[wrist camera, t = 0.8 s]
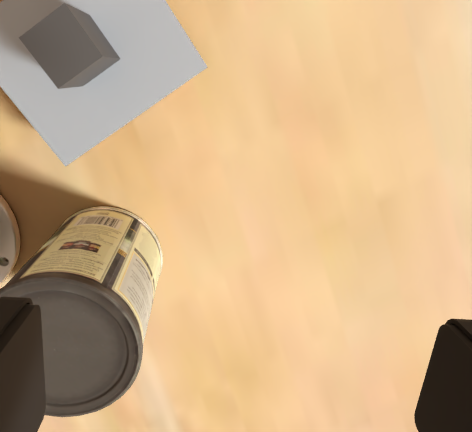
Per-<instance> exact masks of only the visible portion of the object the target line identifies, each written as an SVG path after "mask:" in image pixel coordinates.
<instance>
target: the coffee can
mask: <svg viewBox="0 0 472 432" xmlns="http://www.w3.org/2000/svg"><path fill="white" fill-rule="evenodd" d="M162 264H163V255H162V249H161V246H160V243H159V240H158V238H157V236H156V235H155V233H154V232H153V230H152V229H151V228H150V227H149V225H148V224H147V223H146V222H145V221H143V220H142V219H141V218H139V217H138V216H136V215H135V214H133V213H131V212H129V211H127V210H124V209H120V208H115V207H108V206H99V207H91V208H87V209H84V210H81V211H79V212H77V213H75V214H73V215H72V216H70V217H69V218H68V219H67V220H66V221H65V222H64V223H63V224H62V225H61V226H60V227H59V229H58V230H57V231H56V232H55V233H54V234H53V235H52V237H51V238H50V239H49V240H48V241H47V242H46V243H45V244H44V245H43V246H42V247H41V248H40V249H39V250H38V252H37V253H36V254H35V255H34V256H33V257H32V258H31V259H30V260H29V261H28V262H27V263H26V264H25V265H24V266H23V267H22V268H21V269H20V270H19V271H18V273H17V274H16V275H15V276H14V277H13V278H12V279H11V280H10V281H9V282H8V283H7V284H6V285H5V286H4V287H2V288H1V289H0V298H1V297H24V298H30V299H31V300H32V302H33V305H39V306H40V308H41V321H42V339H43V357H44V374H45V392H46V409H45V414H44V415H49V416H57V417H71V416H80V415H84V414H88V413H92V412H96V411H98V410H100V409H103V408H105V407H107V406H109V405H111V404H112V403H113V402H115V401H116V400H118V399H119V398H120V397H121V396H122V395H124V394H125V393H126V391H127V390H128V389H129V388H130V387H131V385H132V384H133V382H134V381H135V379H136V377H137V374H138V372H139V369H140V365H141V360H142V353H143V343H144V339H145V335H146V331H147V326H148V321H149V317H150V313H151V308H152V304H153V300H154V296H155V291H156V287H157V283H158V279H159V276H160V274H161V270H162Z"/></svg>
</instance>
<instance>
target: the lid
mask: <svg viewBox="0 0 472 432" xmlns="http://www.w3.org/2000/svg"><path fill="white" fill-rule="evenodd" d="M206 68H207V65H206V64H205V62H204V61H203V59H202V58H201V56H200V54H199V53H198V51H197V50H196V48H195V47H194V45H193V43H192V42H191V40H190V39H189V37H188V36H187V34H186V32H185V31H184V29H183V28H182V26H181V24H180V23H179V21H178V20H177V18H176V17H175V15H174V13H173V12H172V10H171V9H170V7H169V6H168V4H167V2H166V1H165V0H2V1H1V2H0V87H1V88H2V89H3V90H4V92H5V93H6V94H7V95H8V97H9V98H10V99H11V100H12V101H13V103H14V104H15V105H16V106H17V108H18V109H19V110H20V111H21V113H22V114H23V115H24V116H25V117H26V119H27V120H28V121H29V122H30V124H31V125H32V126H33V127H34V128H35V130H36V131H37V132H38V133H39V135H40V136H41V137H42V138H43V140H44V141H45V142H46V143H47V144H48V146H49V147H50V148H51V149H52V151H53V152H54V153H55V154H56V155H57V157H58V158H59V159H60V160H61V162H62V163H63V164H64V165H65V166H67V165H68V164H70V163H71V162H73V161H74V160H76V159H77V158H78V157H80V156H81V155H83V154H84V153H86V152H87V151H89V150H90V149H91V148H93V147H94V146H96V145H97V144H99V143H100V142H101V141H103V140H104V139H106V138H107V137H109V136H110V135H111V134H113V133H114V132H116V131H117V130H119V129H120V128H121V127H123V126H124V125H126V124H127V123H129V122H130V121H131V120H133V119H134V118H136V117H137V116H139V115H140V114H141V113H143V112H144V111H146V110H147V109H149V108H150V107H151V106H153V105H154V104H156V103H157V102H159V101H160V100H161V99H163V98H164V97H166V96H167V95H169V94H170V93H172V92H173V91H174V90H176V89H177V88H179V87H180V86H182V85H183V84H184V83H186V82H187V81H189V80H190V79H192V78H193V77H194V76H196V75H197V74H199V73H200V72H202V71H203V70H204V69H206Z"/></svg>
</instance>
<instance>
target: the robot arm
mask: <svg viewBox="0 0 472 432" xmlns="http://www.w3.org/2000/svg"><path fill="white" fill-rule="evenodd" d="M19 251H20V234H19V227H18V225H17V222H16V219H15V216H14V214H13V212H12V210H11V209H10V207H9V205H8V203H7V202H6V201H5V200H4V199H3V197H2V196H1V195H0V283H1V282H3V281H4V279H5V278H6V277H7V276H8V275H9V274H10V273H11V271H12V269H13V268H14V266H15V264H16V262H17V259H18V255H19ZM6 258H7V259H6ZM45 409H46V392H45V374H44V357H43V339H42V321H41V308H40V306H39V305H33V302H32V300H31V299H30V298H24V297H1V298H0V432H37V431H38V429H39V427H40V425H41V422H42V420H43V417H44V414H45ZM415 424H416V427H417V429H418V431H419V432H472V320H465V319H450V320H448V321H447V322H446V323H445V325H442V326H441V327H440V328H439V330H438V334H437V337H436V341H435V344H434V348H433V351H432V355H431V358H430V362H429V365H428V369H427V372H426V376H425V379H424V382H423V386H422V389H421V393H420V396H419V400H418V403H417V407H416V410H415Z"/></svg>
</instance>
